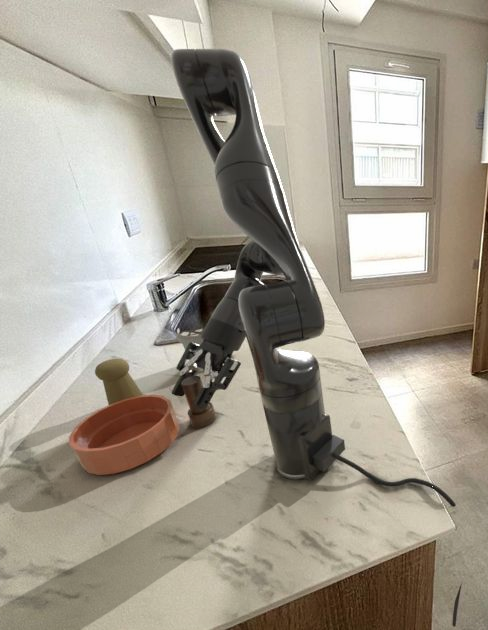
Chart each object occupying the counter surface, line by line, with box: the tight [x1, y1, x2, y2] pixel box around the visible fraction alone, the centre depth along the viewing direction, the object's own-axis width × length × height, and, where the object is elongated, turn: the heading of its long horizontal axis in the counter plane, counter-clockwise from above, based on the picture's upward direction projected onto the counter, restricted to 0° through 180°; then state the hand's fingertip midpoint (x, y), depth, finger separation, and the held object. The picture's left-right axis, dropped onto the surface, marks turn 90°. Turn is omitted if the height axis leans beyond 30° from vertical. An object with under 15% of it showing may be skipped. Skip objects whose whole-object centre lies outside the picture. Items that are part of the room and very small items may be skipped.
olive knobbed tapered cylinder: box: [94, 357, 144, 405], centre depth 70 cm, size 6×6×11 cm
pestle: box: [181, 375, 217, 429], centre depth 66 cm, size 4×4×10 cm
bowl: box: [68, 394, 181, 476], centre depth 61 cm, size 14×14×6 cm
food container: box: [176, 327, 205, 351], centre depth 84 cm, size 12×6×10 cm, turn 105°
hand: (187, 401), depth 64 cm, fingers open, 6 cm apart
